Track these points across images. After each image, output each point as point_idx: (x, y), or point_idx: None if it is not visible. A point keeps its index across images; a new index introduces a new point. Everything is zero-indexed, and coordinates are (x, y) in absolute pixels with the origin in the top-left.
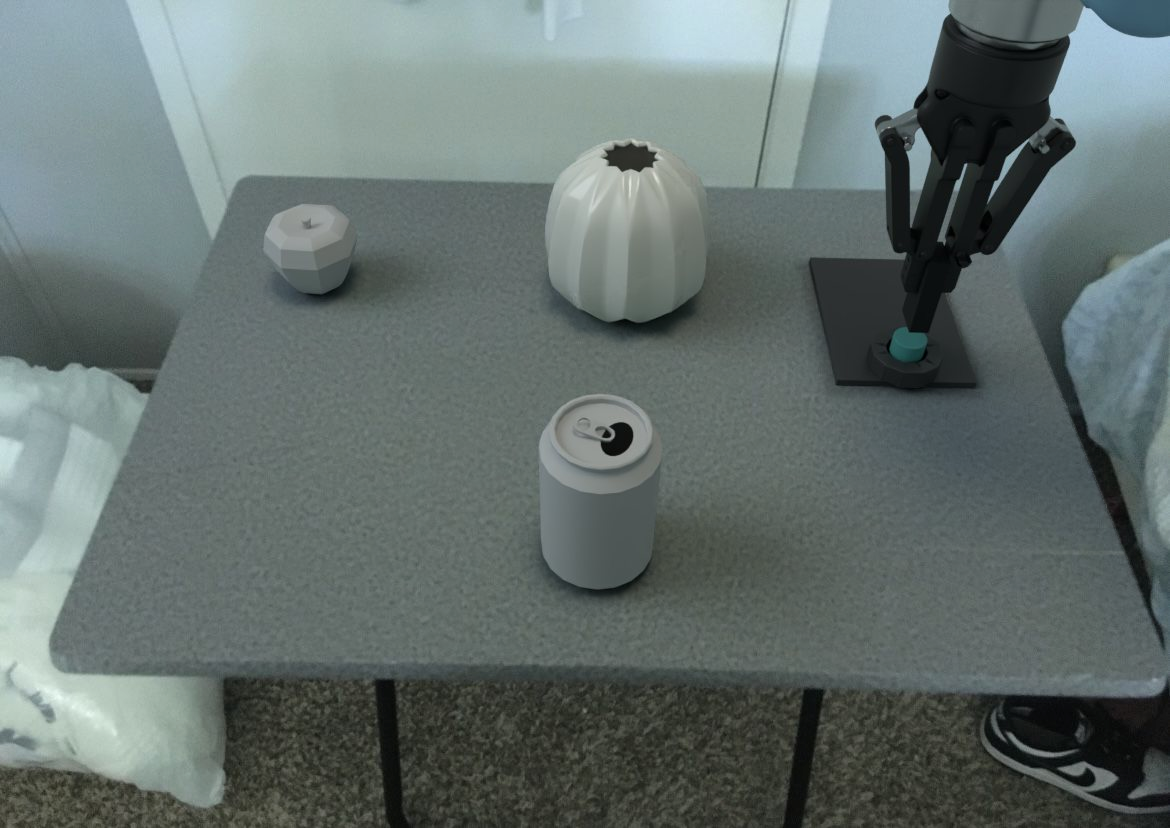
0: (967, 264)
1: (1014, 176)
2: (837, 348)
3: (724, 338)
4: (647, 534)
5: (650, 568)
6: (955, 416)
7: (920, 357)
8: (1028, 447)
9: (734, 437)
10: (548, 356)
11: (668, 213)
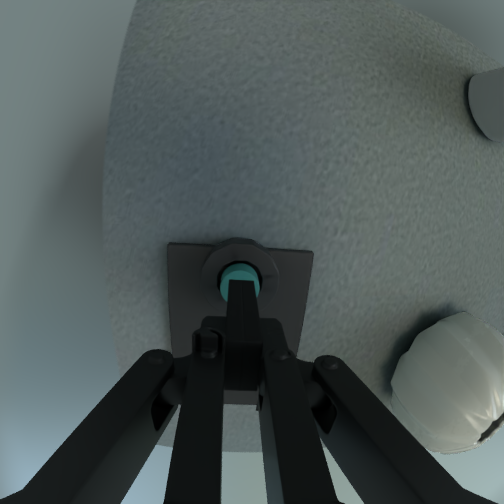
0: (200, 331)
1: (108, 491)
2: (300, 297)
3: (387, 311)
4: (494, 73)
5: (463, 85)
6: (200, 202)
7: (228, 268)
8: (141, 159)
9: (411, 189)
10: (484, 284)
11: (489, 383)
